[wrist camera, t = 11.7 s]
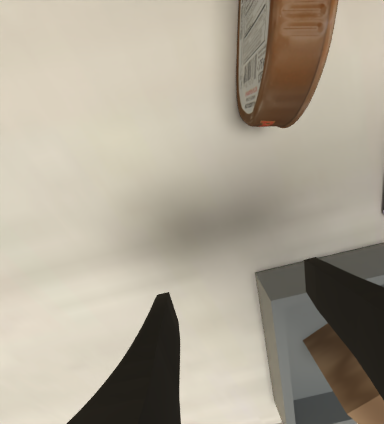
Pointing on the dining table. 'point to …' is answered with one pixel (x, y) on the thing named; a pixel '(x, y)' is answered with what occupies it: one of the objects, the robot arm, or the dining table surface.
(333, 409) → the bin
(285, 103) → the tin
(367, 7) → the dining table surface
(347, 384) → the block
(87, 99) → the dining table surface
